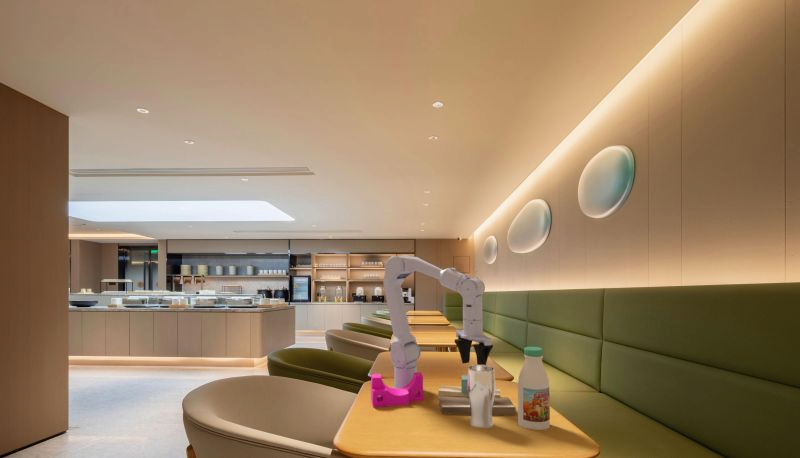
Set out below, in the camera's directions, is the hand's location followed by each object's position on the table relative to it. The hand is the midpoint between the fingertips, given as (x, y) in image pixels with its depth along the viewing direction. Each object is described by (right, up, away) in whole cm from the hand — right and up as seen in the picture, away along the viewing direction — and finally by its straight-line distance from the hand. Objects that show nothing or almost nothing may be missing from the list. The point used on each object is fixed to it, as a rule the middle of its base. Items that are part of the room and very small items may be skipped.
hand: (473, 365), depth 136 cm
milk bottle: (+12, -10, -19) cm, 25 cm away
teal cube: (-1, -8, +1) cm, 8 cm away
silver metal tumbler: (-1, -10, -19) cm, 22 cm away
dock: (0, -10, -7) cm, 12 cm away
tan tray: (-1, -11, +2) cm, 11 cm away
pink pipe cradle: (-22, -11, 0) cm, 25 cm away
